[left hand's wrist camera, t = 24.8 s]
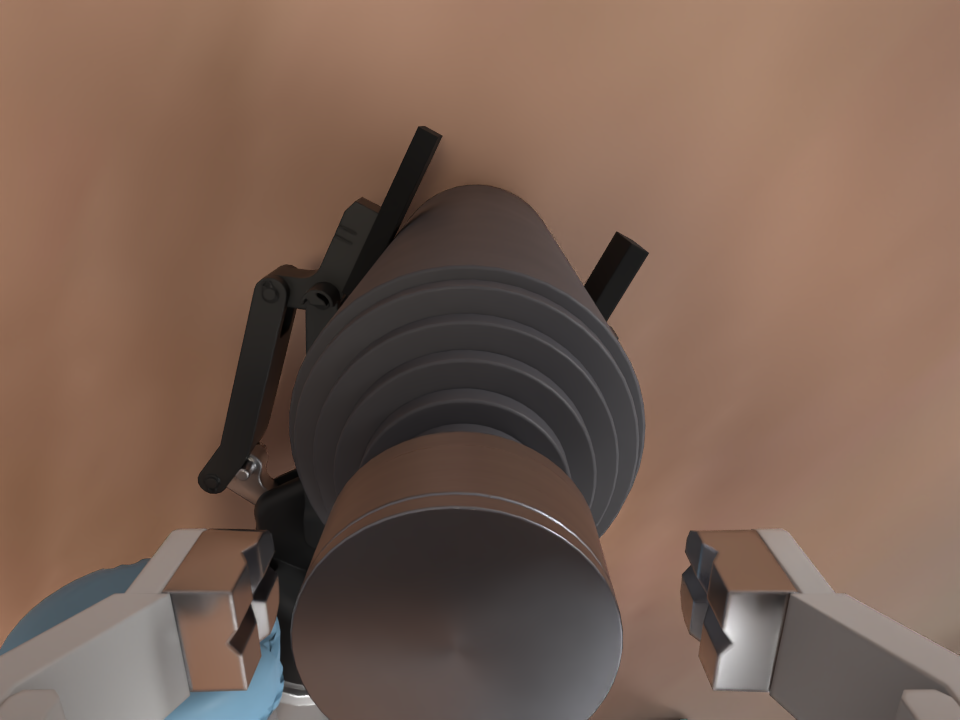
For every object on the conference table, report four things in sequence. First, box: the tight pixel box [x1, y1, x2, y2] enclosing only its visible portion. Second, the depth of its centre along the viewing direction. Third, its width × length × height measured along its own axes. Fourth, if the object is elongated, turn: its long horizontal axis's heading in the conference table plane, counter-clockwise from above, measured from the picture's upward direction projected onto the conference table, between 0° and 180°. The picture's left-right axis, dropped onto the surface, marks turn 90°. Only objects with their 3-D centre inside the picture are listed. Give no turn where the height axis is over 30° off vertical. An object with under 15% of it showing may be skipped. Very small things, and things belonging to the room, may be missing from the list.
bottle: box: [289, 185, 645, 538], centre depth 20 cm, size 8×8×24 cm
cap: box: [290, 431, 623, 720], centre depth 9 cm, size 4×4×2 cm
